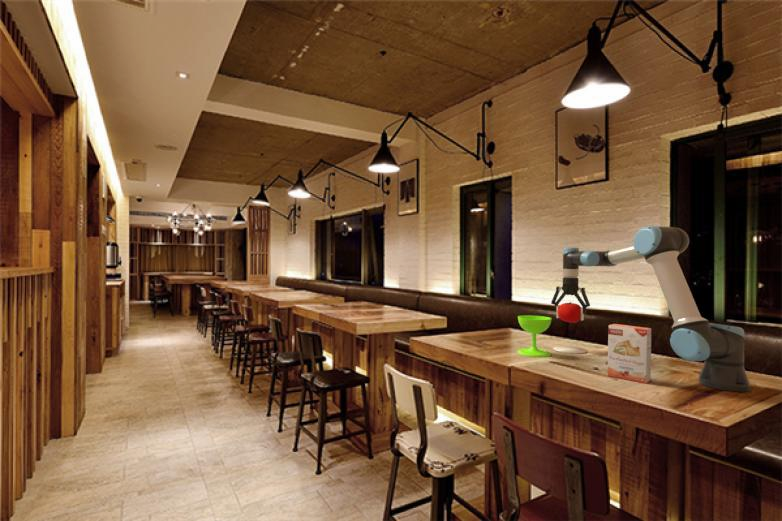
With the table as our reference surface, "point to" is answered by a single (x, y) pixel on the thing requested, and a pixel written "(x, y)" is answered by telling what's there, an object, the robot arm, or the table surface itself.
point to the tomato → (569, 312)
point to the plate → (569, 349)
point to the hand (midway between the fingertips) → (569, 319)
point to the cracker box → (629, 352)
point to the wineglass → (534, 333)
